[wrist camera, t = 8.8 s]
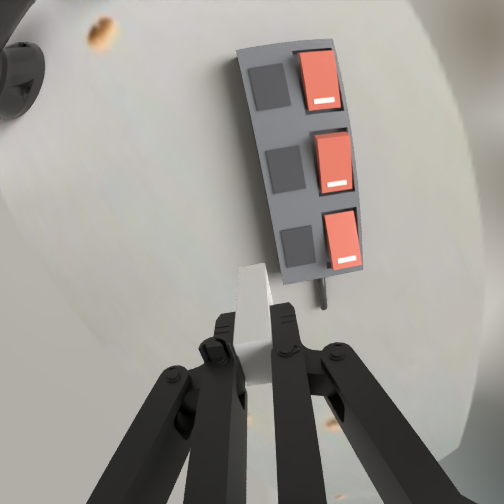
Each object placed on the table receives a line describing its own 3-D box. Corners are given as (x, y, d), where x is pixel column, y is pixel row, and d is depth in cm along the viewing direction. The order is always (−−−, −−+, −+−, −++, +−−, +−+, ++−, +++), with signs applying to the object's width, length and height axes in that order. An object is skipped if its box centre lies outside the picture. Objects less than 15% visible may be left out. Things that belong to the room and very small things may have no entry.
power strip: (288, 312, 53) (290, 327, 49) (237, 56, 35) (235, 49, 31) (356, 299, 52) (363, 313, 48) (325, 45, 34) (333, 38, 30)
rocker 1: (306, 108, 36) (309, 110, 35) (297, 52, 31) (300, 53, 30) (337, 104, 36) (341, 107, 34) (330, 50, 31) (333, 50, 29)
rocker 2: (319, 187, 41) (322, 193, 40) (314, 135, 36) (317, 139, 34) (348, 183, 40) (352, 188, 39) (345, 131, 35) (350, 135, 34)
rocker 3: (331, 268, 44) (333, 270, 42) (322, 215, 43) (324, 215, 41) (359, 263, 43) (362, 264, 41) (350, 211, 43) (353, 210, 41)
